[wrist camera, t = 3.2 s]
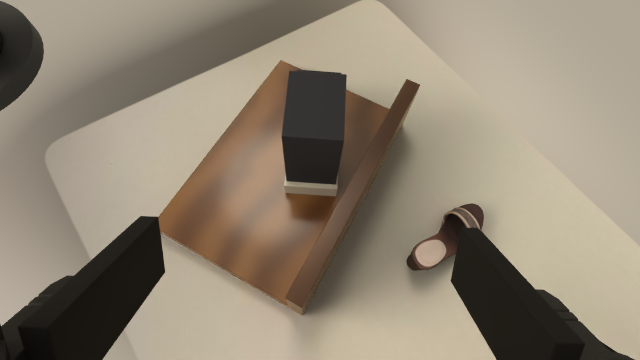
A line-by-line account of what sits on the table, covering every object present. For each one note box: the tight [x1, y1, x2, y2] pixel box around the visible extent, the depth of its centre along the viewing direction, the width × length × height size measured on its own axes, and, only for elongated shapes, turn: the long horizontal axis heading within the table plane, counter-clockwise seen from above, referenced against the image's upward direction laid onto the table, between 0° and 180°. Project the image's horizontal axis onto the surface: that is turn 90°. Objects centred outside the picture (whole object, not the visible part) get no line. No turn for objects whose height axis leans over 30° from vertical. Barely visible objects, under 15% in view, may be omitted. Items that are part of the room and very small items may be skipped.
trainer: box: [281, 70, 346, 196], centre depth 37 cm, size 13×6×11 cm, turn 177°
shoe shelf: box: [158, 60, 420, 315], centre depth 39 cm, size 18×26×8 cm
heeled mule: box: [407, 204, 484, 270], centre depth 38 cm, size 4×11×4 cm, turn 125°
